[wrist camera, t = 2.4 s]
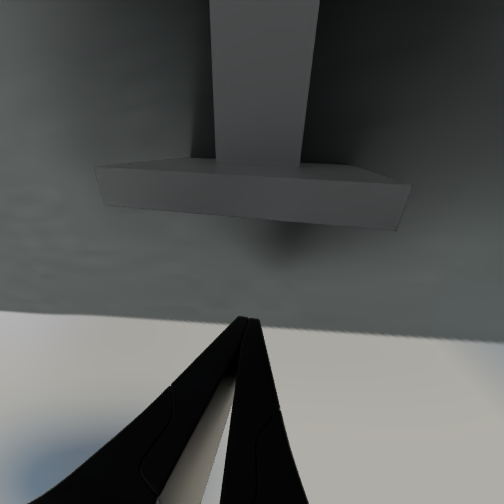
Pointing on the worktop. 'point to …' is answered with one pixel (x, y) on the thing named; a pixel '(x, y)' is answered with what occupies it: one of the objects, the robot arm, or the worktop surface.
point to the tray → (260, 135)
